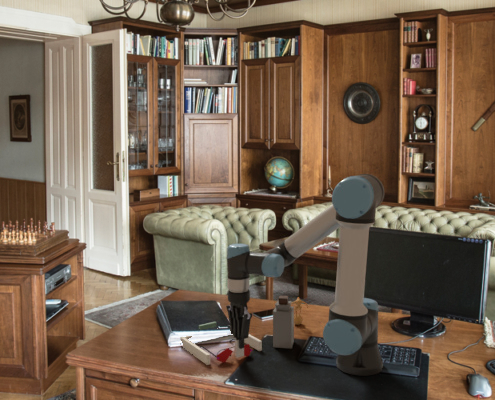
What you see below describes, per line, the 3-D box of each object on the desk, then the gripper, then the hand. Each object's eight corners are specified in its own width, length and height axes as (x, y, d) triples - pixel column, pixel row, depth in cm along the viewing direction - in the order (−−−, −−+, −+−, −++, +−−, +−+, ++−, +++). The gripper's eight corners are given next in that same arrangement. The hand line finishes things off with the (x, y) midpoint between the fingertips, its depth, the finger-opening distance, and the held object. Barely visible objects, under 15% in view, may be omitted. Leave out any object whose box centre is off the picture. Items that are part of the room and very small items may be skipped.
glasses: (217, 365, 188) (217, 351, 187) (196, 349, 202) (196, 336, 201) (252, 357, 195) (252, 343, 194) (230, 342, 209) (230, 329, 208)
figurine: (307, 322, 228) (307, 294, 227) (309, 327, 222) (309, 298, 221) (287, 323, 228) (286, 294, 227) (288, 328, 222) (288, 299, 221)
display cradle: (261, 350, 200) (261, 332, 199) (207, 365, 188) (206, 346, 187) (232, 333, 217) (232, 317, 216) (180, 346, 205) (180, 329, 204)
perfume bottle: (291, 348, 201) (291, 300, 199) (273, 347, 203) (272, 299, 200) (293, 341, 208) (293, 294, 206) (276, 340, 209) (275, 294, 207)
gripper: (258, 292, 185) (259, 360, 188) (237, 283, 196) (238, 347, 199) (239, 295, 181) (240, 365, 184) (219, 287, 192) (220, 352, 194)
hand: (239, 356), depth 191 cm, fingers closed
